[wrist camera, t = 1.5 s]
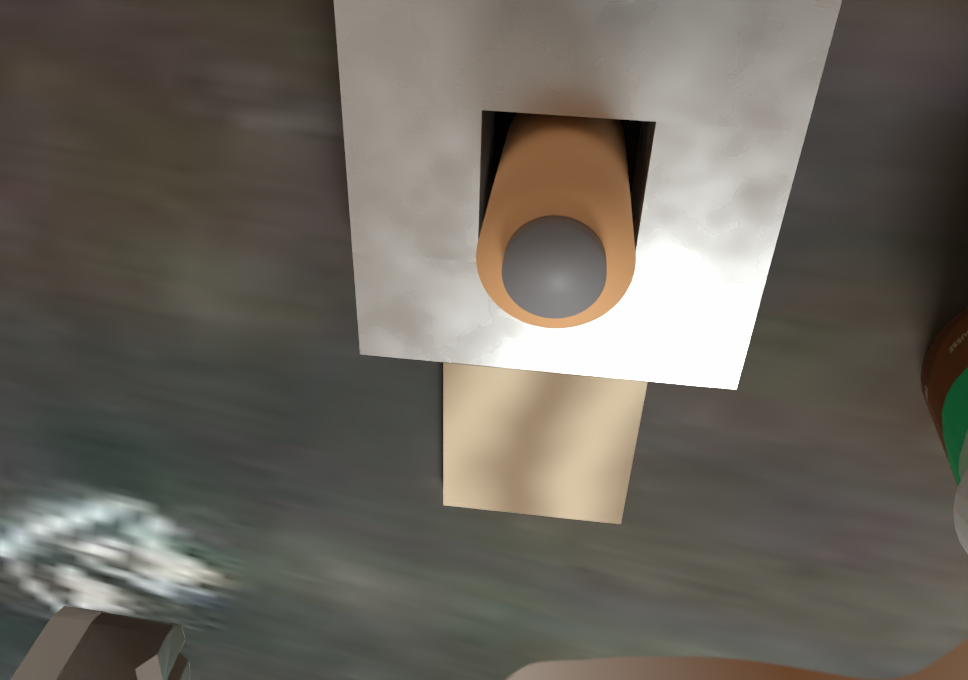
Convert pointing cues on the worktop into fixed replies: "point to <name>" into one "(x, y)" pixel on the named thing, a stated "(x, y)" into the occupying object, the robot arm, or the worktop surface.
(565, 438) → the coaster
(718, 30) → the housing
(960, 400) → the food container
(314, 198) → the worktop surface
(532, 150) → the tan grey-topped cylinder
